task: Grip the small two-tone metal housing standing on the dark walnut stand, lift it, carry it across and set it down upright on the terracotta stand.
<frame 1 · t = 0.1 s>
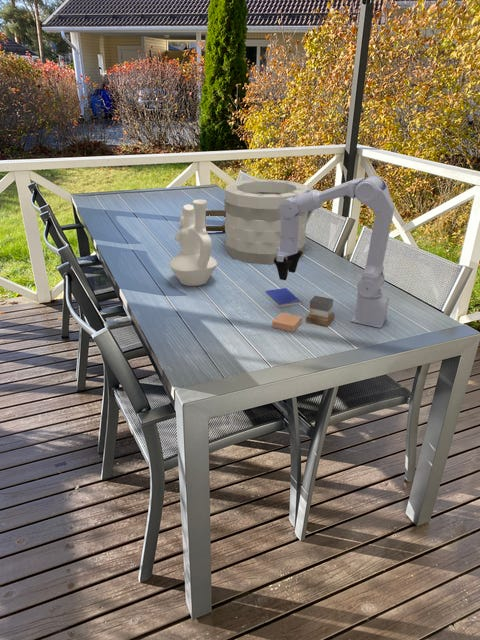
hand: (287, 275, 165), 10 cm above the table, tool pointing down, fingers open, 7 cm apart
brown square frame: (212, 226, 253), on the table
storage basket: (265, 251, 218), on the table
housing: (320, 314, 157), point 2 cm above the table, touching stand a
double spout vessel: (195, 284, 185), on the table
hard drive: (283, 300, 173), on the table
stand a: (320, 320, 158), on the table
stand b: (287, 324, 155), on the table
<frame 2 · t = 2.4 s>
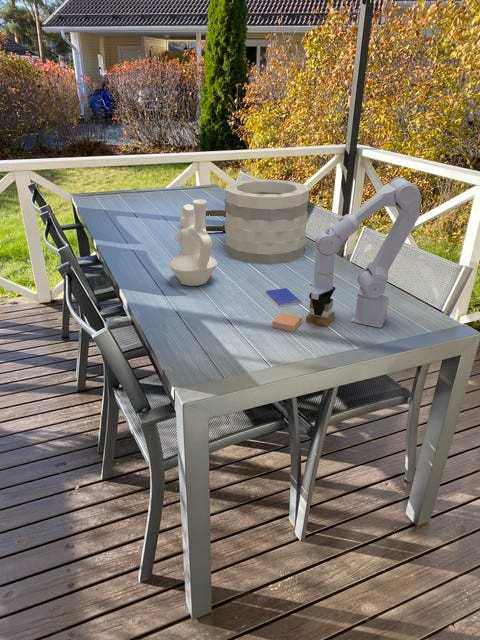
hand: (320, 311, 157), 3 cm above the table, tool pointing down, fingers closed on housing, 4 cm apart
housing: (320, 314, 157), point 2 cm above the table, touching gripper, stand a
everything else where it was.
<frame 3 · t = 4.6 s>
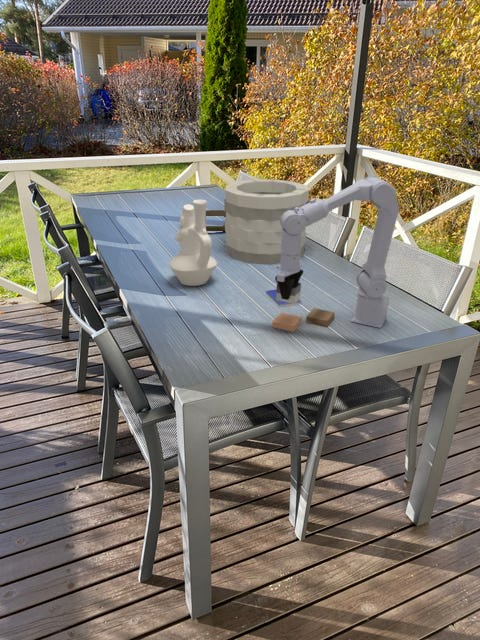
hand: (288, 295, 151), 10 cm above the table, tool pointing down, fingers closed on housing, 4 cm apart
housing: (288, 299, 151), point 9 cm above the table, touching gripper
everything else where it was.
when the fingers open (4 cm above the table, at t = 6.6 s): housing stays where it is, resting on stand b.
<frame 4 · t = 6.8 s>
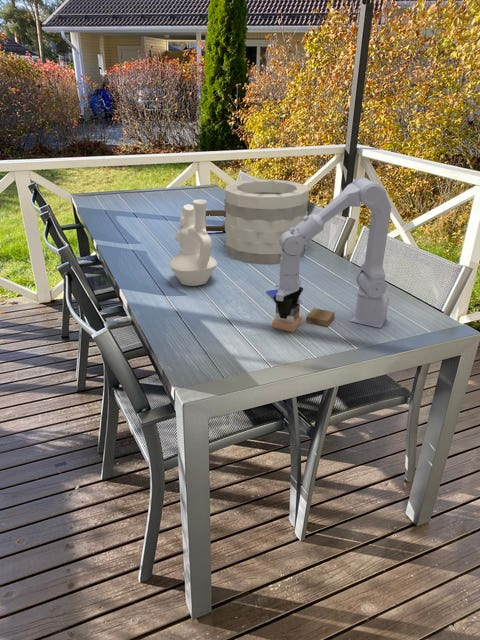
hand: (287, 313, 153), 4 cm above the table, tool pointing down, fingers open, 6 cm apart
housing: (287, 319, 154), point 2 cm above the table, touching stand b
everything else where it was.
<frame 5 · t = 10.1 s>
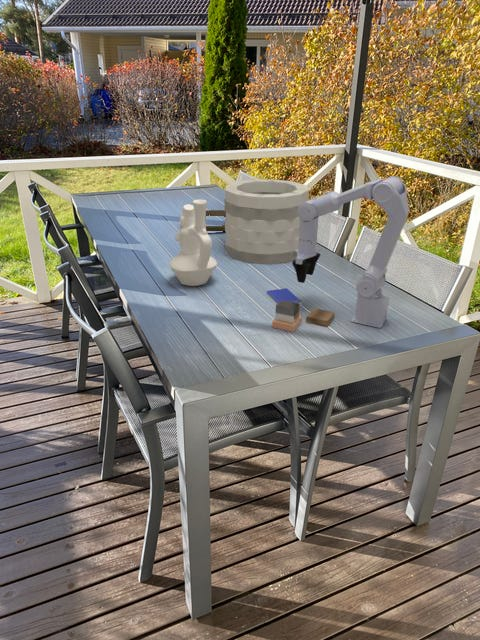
hand: (305, 278, 165), 9 cm above the table, tool pointing down, fingers open, 7 cm apart
nothing on the table moved.
at the end: housing 0.0 cm off-centre on the stand b, point 2.0 cm above the stand b's base; housing tilted 0°; the gripper is holding nothing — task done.
